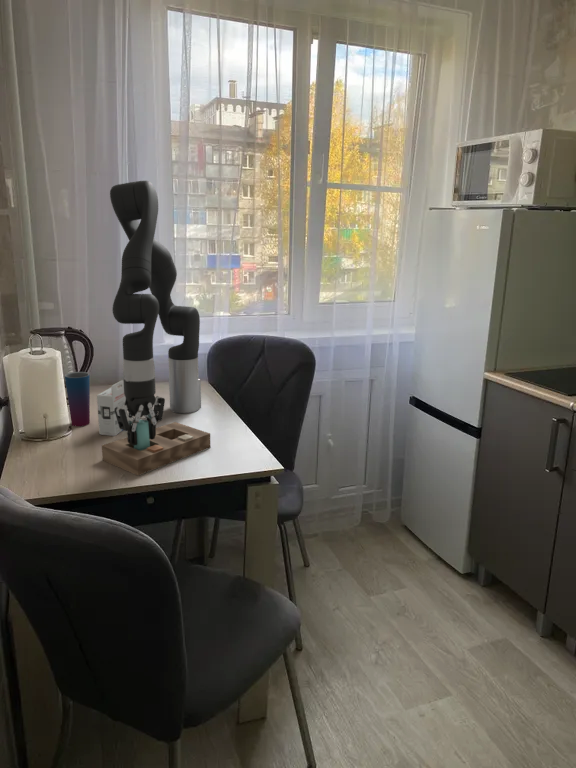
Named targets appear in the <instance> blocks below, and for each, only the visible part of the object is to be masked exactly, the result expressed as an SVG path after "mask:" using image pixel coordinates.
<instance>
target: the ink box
mask: <svg viewBox="0 0 576 768" xmlns="http://www.w3.org/2000/svg"><path fill="white" fill-rule="evenodd" d="M119 386H120V387H119ZM125 401H126V397H125V395H124V382H123V379H121V380H119V381H118V382H116V383H114V384H112V385H111V387H109V388H107V389H106V390H104V391H102V392H101V393H98V394H96V405H97V417H98V430H99V431H98V433H99V435H103V436H111V437H115V436H117V435H118V434H119V433H121V432H122V431H123V430H122V429H120V428H119V424H118V421H117V417H116V414H115V408H116V407H118V408H120V407H122V406H124V404H125ZM126 412H127V414H128V410H127V411H126ZM126 417H127V415H126Z"/></svg>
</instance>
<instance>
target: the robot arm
mask: <svg viewBox="0 0 576 768" xmlns="http://www.w3.org/2000/svg"><path fill="white" fill-rule="evenodd" d="M109 199H110V202H111V206H112V209H113V212H114V213H115V216H116V218H117V220H118V222H119V224H120V225H121V227H122V229H123V231H124V233H125V235H126V237H127V238H128V240H129V241H128V242H127V244H126V246H125V248H124V250H123V253H122V256H121V269H120V270H121V271H120V272H121V275H120V283H119V287H118V289H117V292H116V295H115V296H114V297H115V298H114V300H113V304H112V314H113V318H114V319H115V320H116V322H118V323H120V324H123V325H126V324H127V325H130V324H131V325H132V324H133V325H138V324H143V325H144V326H143V328H142V329H141V330H138V331H134V332H130V333H126V334H125V335H124V336H122V357H123V362H122V376H123V377H122V380H123V382H124V395H125V397H126V401H125V404H124V406H122V407H120V408H118V407H116V408H115V414H116V417H117V421H118V424H119V428H120V429H122V431H125V432H126V435H127V436H126V437H128V443H130V444H131V445H133V446H134V445H137V433H136V431H135V430H136V426H137V423H138V422H139V420H141V418H142V417H144V418H145V420H147V421H148V425H149V439H155V436H156V428H157V426H156V425H157V423H159V422H162V420H163V416H164V409H165V402H166V399H165V397H161V396H158V395H157V396H155V395H156V389H157V388H156V371H155V370H156V367H155V366H156V365H155V361H154V333H155V328H156V324H157V319H158V317H159V320H160V324H161V326H162V329H163V330H164V332H165V333H166V334H168V335H169V336H177V337H183V341H182V343H181V344H178V345H174V346H171V347H169V349H168V354H167V355H168V359H167V360H168V380H169V381H168V384H169V385H168V386H169V389H168V390H169V410H170V411H171V412H172V413H178V414H188V413H189V414H190V413H194V412H197V411H198V410H199V409H200V408H202V386H201V385H202V380H201V379H200V378H199V350H200V329H201V328H200V325H201V319H200V314H199V310H198V309H197V308H196V307H194V306H185V305H184V306H183V305H176V304H174V303H173V301H172V298H171V297H172V296H171V294H172V290H173V288H174V286H175V283H176V281H177V275H178V274H177V273H178V272H177V268H176V265H175V261H174V259H173V257H172V254H171V253H170V251H169V249H168V248H167V247H166V246H165V245H164V244H163V243H161V242H160V241H159V240H157V239H156V238H155V234H156V228H157V223H158V222H157V221H158V215H159V198H158V194H157V191H156V188H155V186H154V184H153V183H152V182H151V181H150V180H138V181H130V182H124V183H119V184H115V185H113V186H112V187H111V189H110V191H109ZM138 220H139V221H140V222H139V221H138ZM148 289H149V291H150V293H139V292H143V291H146V290H148ZM126 411H127V412H126ZM127 413H128V414H127ZM126 415H127V417H126Z"/></svg>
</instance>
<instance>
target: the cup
mask: <svg viewBox="0 0 576 768" xmlns="http://www.w3.org/2000/svg"><path fill="white" fill-rule="evenodd" d="M90 377H91V376H90V373H89V372H85V371H74V372H68V373H65V374H64V379H65V380H64V381H65V388H66V394H67V402H68V408H69V414H70V415H69V416H70V423H71V425H72V426H73V427H77V428H78V427H86V426H88V425H90V422H91V421H90V413H91V412H90V406H91V402H90V399H91V398H90V397H91V396H90V392H91V391H90V382H91V381H90Z"/></svg>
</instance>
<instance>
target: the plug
mask: <svg viewBox="0 0 576 768" xmlns="http://www.w3.org/2000/svg"><path fill="white" fill-rule="evenodd" d="M135 431H136V433H137V445H134V449H137V450H139V451H141V450H144V449H147V448H148V447H150V439H149V425H148V421H147V420H146V419H140V420H139V422H138V423H137V426H136V430H135Z"/></svg>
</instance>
